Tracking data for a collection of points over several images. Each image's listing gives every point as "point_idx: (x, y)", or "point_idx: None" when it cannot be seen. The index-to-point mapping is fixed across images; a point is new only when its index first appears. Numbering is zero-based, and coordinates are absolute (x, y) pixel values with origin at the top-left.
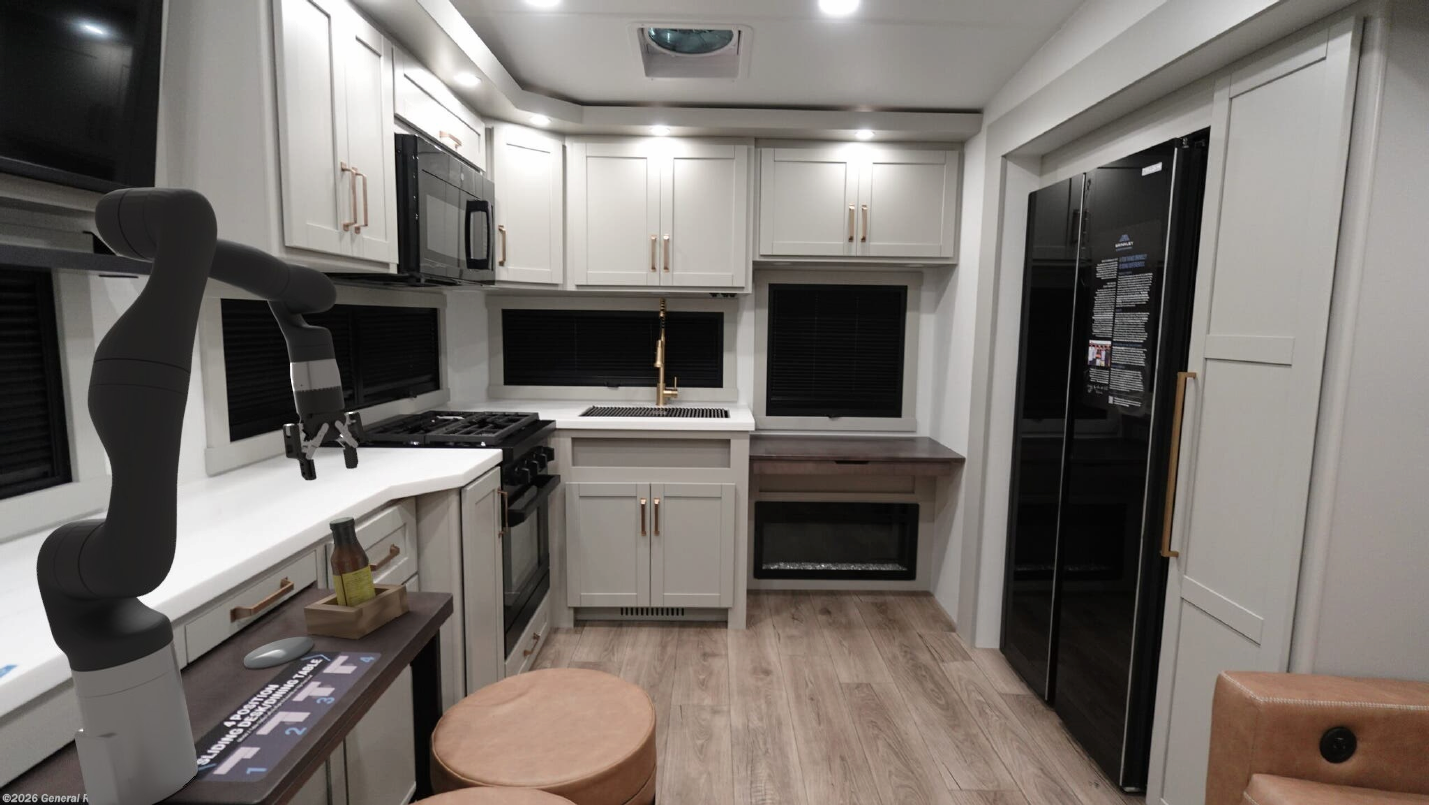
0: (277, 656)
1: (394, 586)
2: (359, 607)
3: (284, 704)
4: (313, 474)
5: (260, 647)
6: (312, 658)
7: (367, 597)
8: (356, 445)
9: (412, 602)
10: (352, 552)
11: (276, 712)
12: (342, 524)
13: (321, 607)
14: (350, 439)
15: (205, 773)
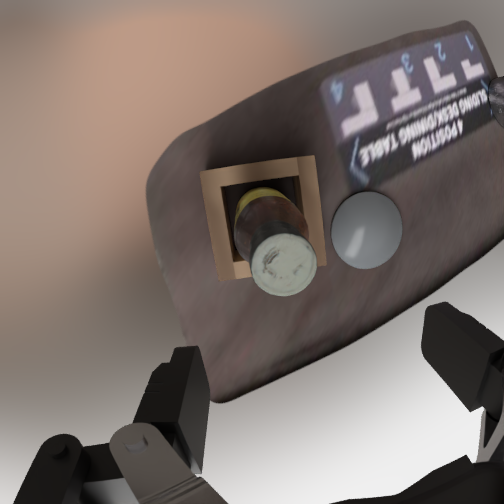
0: (380, 214)
1: (209, 189)
2: (297, 162)
3: (428, 100)
4: (453, 309)
5: (368, 267)
6: (362, 168)
7: (263, 189)
8: (128, 429)
9: (181, 197)
10: (282, 208)
11: (437, 95)
12: (301, 235)
13: (317, 234)
14: (159, 486)
15: (486, 78)
